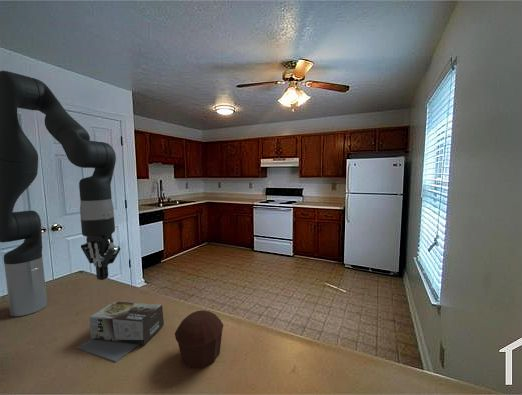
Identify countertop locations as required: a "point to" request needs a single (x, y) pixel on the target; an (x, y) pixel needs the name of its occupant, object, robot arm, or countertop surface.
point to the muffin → (199, 339)
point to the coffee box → (127, 322)
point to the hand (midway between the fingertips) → (102, 278)
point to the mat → (107, 348)
